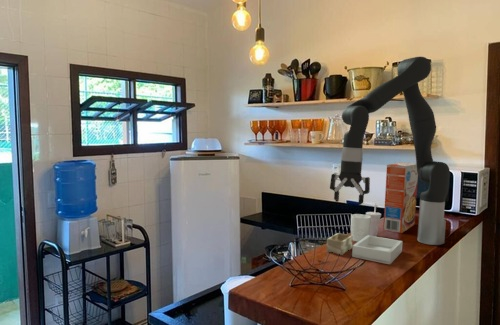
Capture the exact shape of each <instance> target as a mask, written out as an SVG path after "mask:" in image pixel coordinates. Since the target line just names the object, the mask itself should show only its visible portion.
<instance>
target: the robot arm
mask: <svg viewBox="0 0 500 325" xmlns="http://www.w3.org/2000/svg"><path fill="white" fill-rule="evenodd" d="M396 70H397V76H395V77H393V78H391V79H389V80H388V81H385V82H384V83H382V84H380V85H378V86H377V87H375V88H374V89H372V90H371V91H370V92H368V93H367V94H366V95H365V96H363V97H362V98H360V99H358V100H356V101H354V102H353V103H351V104H350V105H348V106H347V107H346V108H344V109H343V111H342V113H341V120H342V122H343V123H344V124H346V125H348V126H349V129H348V131H346V132H344V135H343V142H342V143H343V145H342V146H343V147H342V150H341V161H340V171H339V172H340V173H339V174H338V173H331V177H330V184H329V189H330V190H332V191H333V194H334V196H333V200H334V201H335V202H336V203H337V202H339V200H340V190H341V189H342V188H343V187H345V188H346V187H347V188H352V189H353V188H355V189H356V191H357V192H358V193H359V194H358V203H357V204H358V206H362V204H363V203H364V196H365V195H368V194H370V191H371V190H370V186H371V185H370V183H371V178H370V176H366V177H364V176H362V167H363V156H364V155H363V145H364V136H365V133H366V131H367V128H368V124H369V121H370V116H369V115H370V114H372V113H375V112H377V111H379V110H380V109H381V108H382V107H383V106H384V105H385V106H386V104H387V103H388V102H390V101H391V100H392V99H394V98H395V97H397V96H398V95H400V94H401V93H402V94H403V97H404V102H405V106H406V110H407V116H408V120H409V126H410V131H411V135H412V140H413V147H414V151H415V163H416V165H417V173H418V178H419V180H420V181H421V182H423V183H426V184H429V186H428V189H427V190H425V191H422V192H421V193H420V196H419V197H420V198H419V208H418V209H419V212H418V226H417V241H418V242H419V243H421V244H425V245H430V246H440V245H443V244H445V238H446V225H447V224H446V223H447V222H446V219H445V206H446V198H447V195H448V193H449V185H450V179H451V171H450V167H449V166H448V164H447V163H445V162H442V161H437V160H436V161H435V160H434V159H433V154H432V144H433V141H434V138H435V135H436V132H437V125H436V124H437V123H436V118H435V114H434V111H433V109H432V107H431V106H430V104H429V103H428V102H427V100H426V99H425V98H424V96H423V95H422V92H421V89H420V86H419V83H420V82H421V81H424V80H425V79H427V78H428V77H429V75H430V73H431V72H432V64H431V62H430V60H429V59H428V58H426V57H425V56H415V57H410V58H406V59H403V60H401V61H400V62H399V63H398V66H397V69H396ZM338 179H339V181H340V183H339V184H337V186H336V181H337V180H338ZM362 181H363V183H364V189H363V188H362V186H361V184H360V183H361V182H362Z"/></svg>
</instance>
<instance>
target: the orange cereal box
mask: <svg viewBox="0 0 500 325" xmlns="http://www.w3.org/2000/svg"><path fill="white" fill-rule="evenodd" d="M418 178H419V177H418V173H417V165H416V162H415V163H414V162H413V163H412V162H396V163H390V164H386V176H385V193H384V194H385V196H384V209H383V212H384V213H383V228H382V231H386V232H393V233H397V234H403V233H404V232H405V231H407V230H409V229H410V228H411V227H413V226H415V223H416V222H415V221H416V209H417V207H416V206H417V193H418V181H419V180H418Z"/></svg>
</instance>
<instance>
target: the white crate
mask: <svg viewBox="0 0 500 325" xmlns="http://www.w3.org/2000/svg"><path fill="white" fill-rule="evenodd" d="M351 250H352V252H351V257H353V258H357V259H363V260H366V261H371V262H377V263H381V264H385V265H391V264H392V263H393V262H394V261H395V260H396V259H397V258H398V257H399V256H400V254H401V253H402V252H403V240H400V239H399V240H397V239H392V238H386V237H382V236H370V235H367V236H366V237H364V238H363V239H361V240H360V241H359V242H355V243H354V244H352V248H351Z"/></svg>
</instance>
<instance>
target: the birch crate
mask: <svg viewBox="0 0 500 325" xmlns="http://www.w3.org/2000/svg"><path fill="white" fill-rule="evenodd" d="M353 242H354V241H353V236H352V235H351V234H345V233H339V232H337V233H335V234H334V235H332V236H330V237H328V238H327V239H326V251H325V252H326V253H329V252H333V253H332V254H334V253H337V254H336V255H339V254H340V255H339V256H343V255H344V254H346V253H347V252H349V251H350V250H352V249H353ZM348 250H349V251H348ZM327 251H328V252H327ZM345 252H346V253H345Z"/></svg>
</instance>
